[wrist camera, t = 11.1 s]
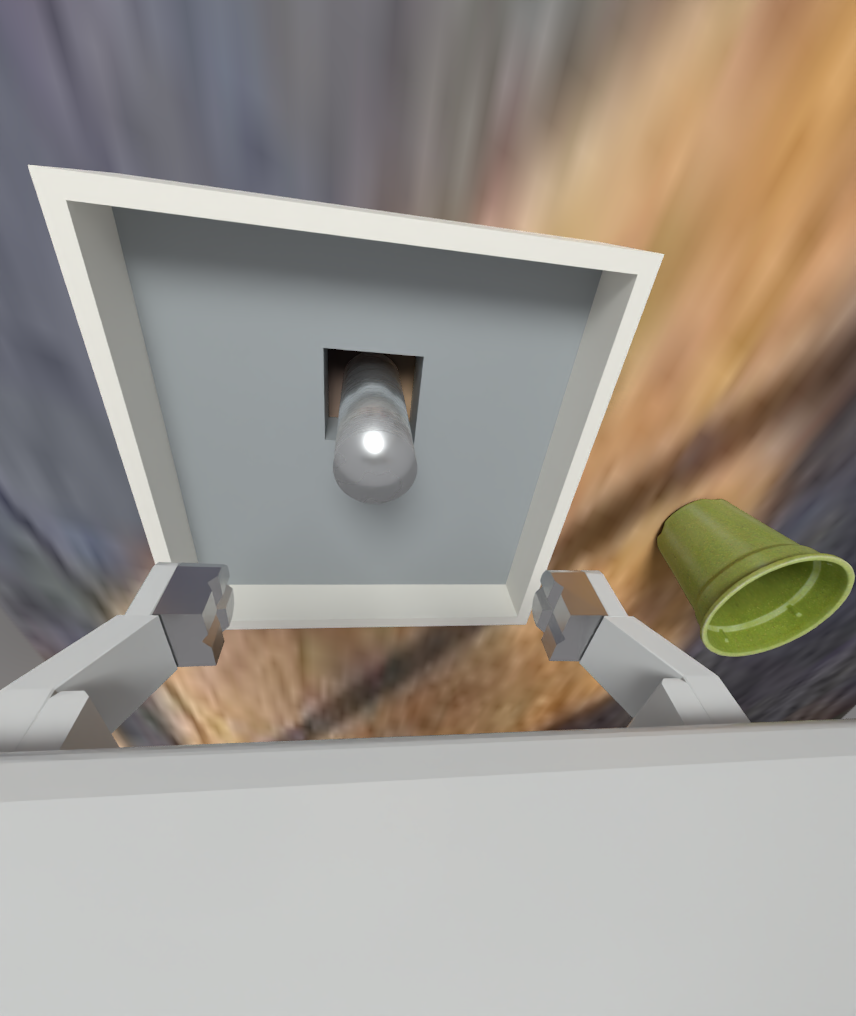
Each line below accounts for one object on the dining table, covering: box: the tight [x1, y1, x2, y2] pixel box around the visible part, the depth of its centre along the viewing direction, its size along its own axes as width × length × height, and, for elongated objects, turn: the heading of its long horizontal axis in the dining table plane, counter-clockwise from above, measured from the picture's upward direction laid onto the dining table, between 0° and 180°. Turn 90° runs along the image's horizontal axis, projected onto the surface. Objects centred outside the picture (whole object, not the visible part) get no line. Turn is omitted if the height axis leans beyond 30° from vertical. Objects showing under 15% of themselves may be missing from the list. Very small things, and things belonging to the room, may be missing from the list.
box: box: [28, 165, 664, 630], centre depth 24 cm, size 22×22×6 cm
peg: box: [333, 352, 417, 504], centre depth 21 cm, size 3×3×10 cm
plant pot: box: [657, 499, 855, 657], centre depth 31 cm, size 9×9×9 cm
